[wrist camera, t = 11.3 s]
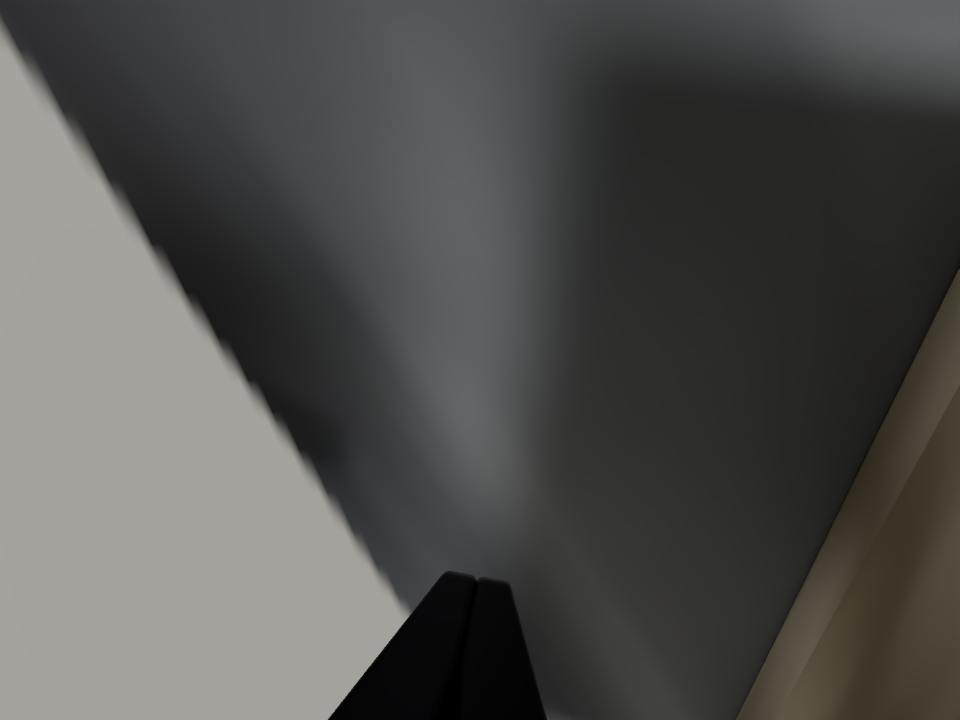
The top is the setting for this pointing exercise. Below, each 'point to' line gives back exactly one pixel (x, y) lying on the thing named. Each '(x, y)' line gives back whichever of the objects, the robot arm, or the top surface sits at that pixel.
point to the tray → (885, 568)
